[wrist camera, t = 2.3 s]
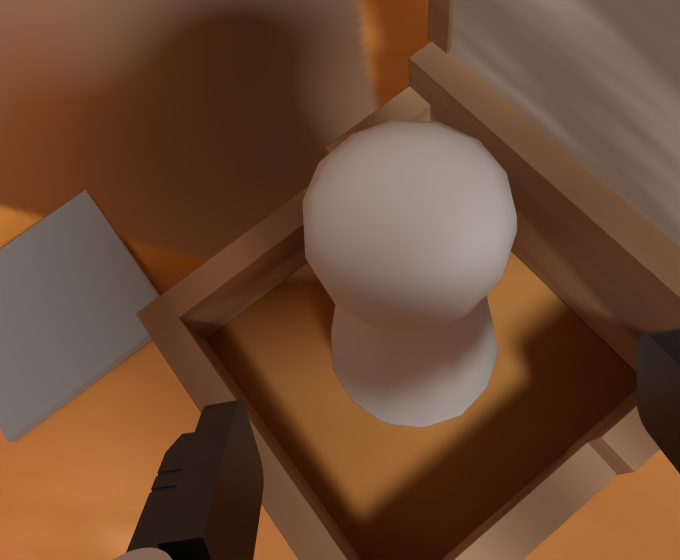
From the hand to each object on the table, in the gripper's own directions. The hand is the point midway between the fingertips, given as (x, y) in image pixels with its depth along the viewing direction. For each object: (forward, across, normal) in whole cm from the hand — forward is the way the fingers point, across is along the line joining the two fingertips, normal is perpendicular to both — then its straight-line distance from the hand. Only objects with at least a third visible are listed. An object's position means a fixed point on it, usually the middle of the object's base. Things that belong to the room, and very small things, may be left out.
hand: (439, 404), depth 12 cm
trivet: (+13, +15, +2) cm, 20 cm away
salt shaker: (+10, 0, +5) cm, 11 cm away
